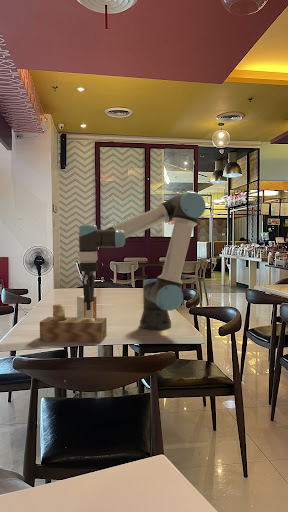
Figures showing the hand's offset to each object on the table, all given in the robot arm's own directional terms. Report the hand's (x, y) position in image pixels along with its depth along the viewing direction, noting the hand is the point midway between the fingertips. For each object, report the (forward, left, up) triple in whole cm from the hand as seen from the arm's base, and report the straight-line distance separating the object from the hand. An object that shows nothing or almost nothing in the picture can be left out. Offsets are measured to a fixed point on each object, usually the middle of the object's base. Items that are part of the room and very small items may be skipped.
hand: (89, 317), depth 171 cm
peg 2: (0, 0, -9) cm, 9 cm away
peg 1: (+13, 0, -3) cm, 13 cm away
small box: (+10, -35, -10) cm, 38 cm away
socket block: (+7, 0, -9) cm, 11 cm away
